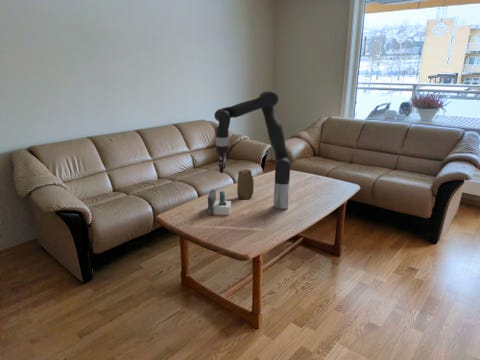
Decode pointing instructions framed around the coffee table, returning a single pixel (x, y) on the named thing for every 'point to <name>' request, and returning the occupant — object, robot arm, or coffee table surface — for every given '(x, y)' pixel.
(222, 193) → the dowel
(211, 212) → the jig
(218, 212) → the socket
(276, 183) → the robot arm
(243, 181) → the brown rounded block
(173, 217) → the coffee table surface
